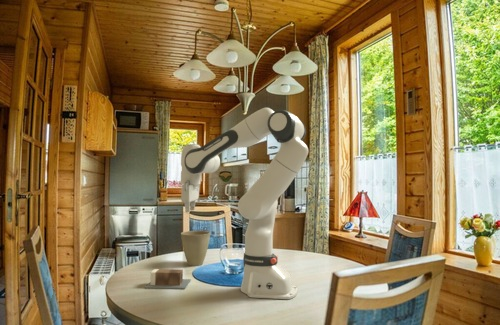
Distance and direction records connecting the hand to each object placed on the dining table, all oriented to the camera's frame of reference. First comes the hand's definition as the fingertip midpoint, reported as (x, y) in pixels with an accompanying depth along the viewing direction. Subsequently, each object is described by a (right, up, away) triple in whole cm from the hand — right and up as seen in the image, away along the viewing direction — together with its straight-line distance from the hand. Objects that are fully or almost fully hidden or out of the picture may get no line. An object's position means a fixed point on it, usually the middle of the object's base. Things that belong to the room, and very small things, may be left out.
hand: (190, 211), depth 150 cm
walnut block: (-1, -25, -12) cm, 28 cm away
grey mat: (-7, -29, -12) cm, 32 cm away
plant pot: (-1, -30, +21) cm, 37 cm away
